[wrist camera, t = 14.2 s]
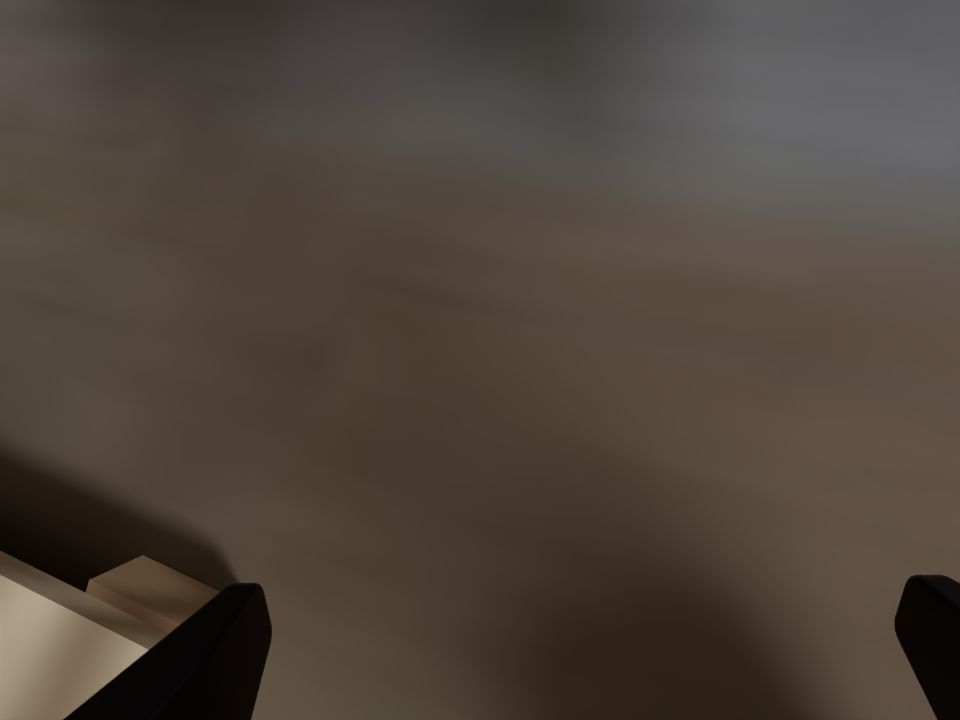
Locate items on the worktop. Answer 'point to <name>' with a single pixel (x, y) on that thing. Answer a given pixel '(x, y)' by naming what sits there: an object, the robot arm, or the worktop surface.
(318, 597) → the worktop surface
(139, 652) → the bridge
